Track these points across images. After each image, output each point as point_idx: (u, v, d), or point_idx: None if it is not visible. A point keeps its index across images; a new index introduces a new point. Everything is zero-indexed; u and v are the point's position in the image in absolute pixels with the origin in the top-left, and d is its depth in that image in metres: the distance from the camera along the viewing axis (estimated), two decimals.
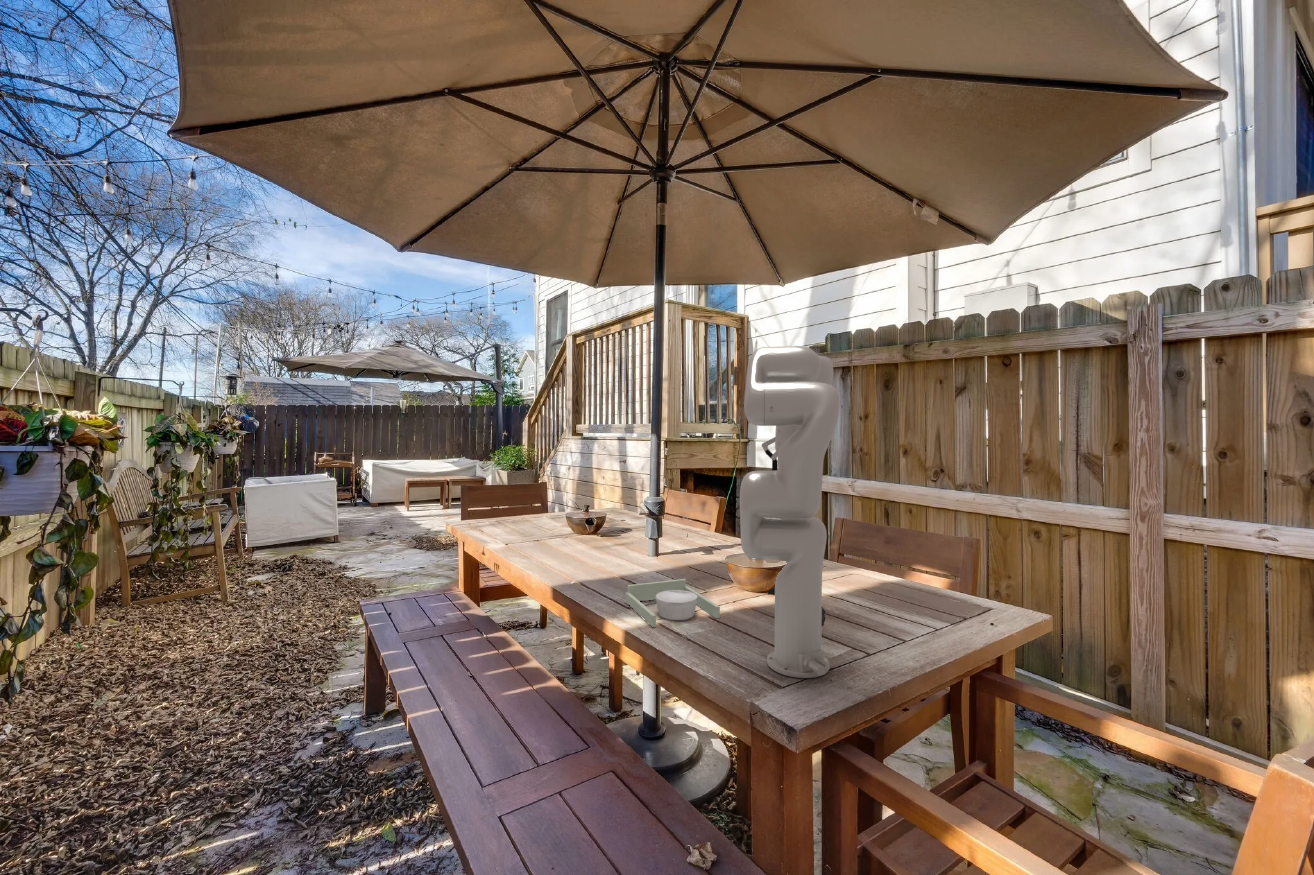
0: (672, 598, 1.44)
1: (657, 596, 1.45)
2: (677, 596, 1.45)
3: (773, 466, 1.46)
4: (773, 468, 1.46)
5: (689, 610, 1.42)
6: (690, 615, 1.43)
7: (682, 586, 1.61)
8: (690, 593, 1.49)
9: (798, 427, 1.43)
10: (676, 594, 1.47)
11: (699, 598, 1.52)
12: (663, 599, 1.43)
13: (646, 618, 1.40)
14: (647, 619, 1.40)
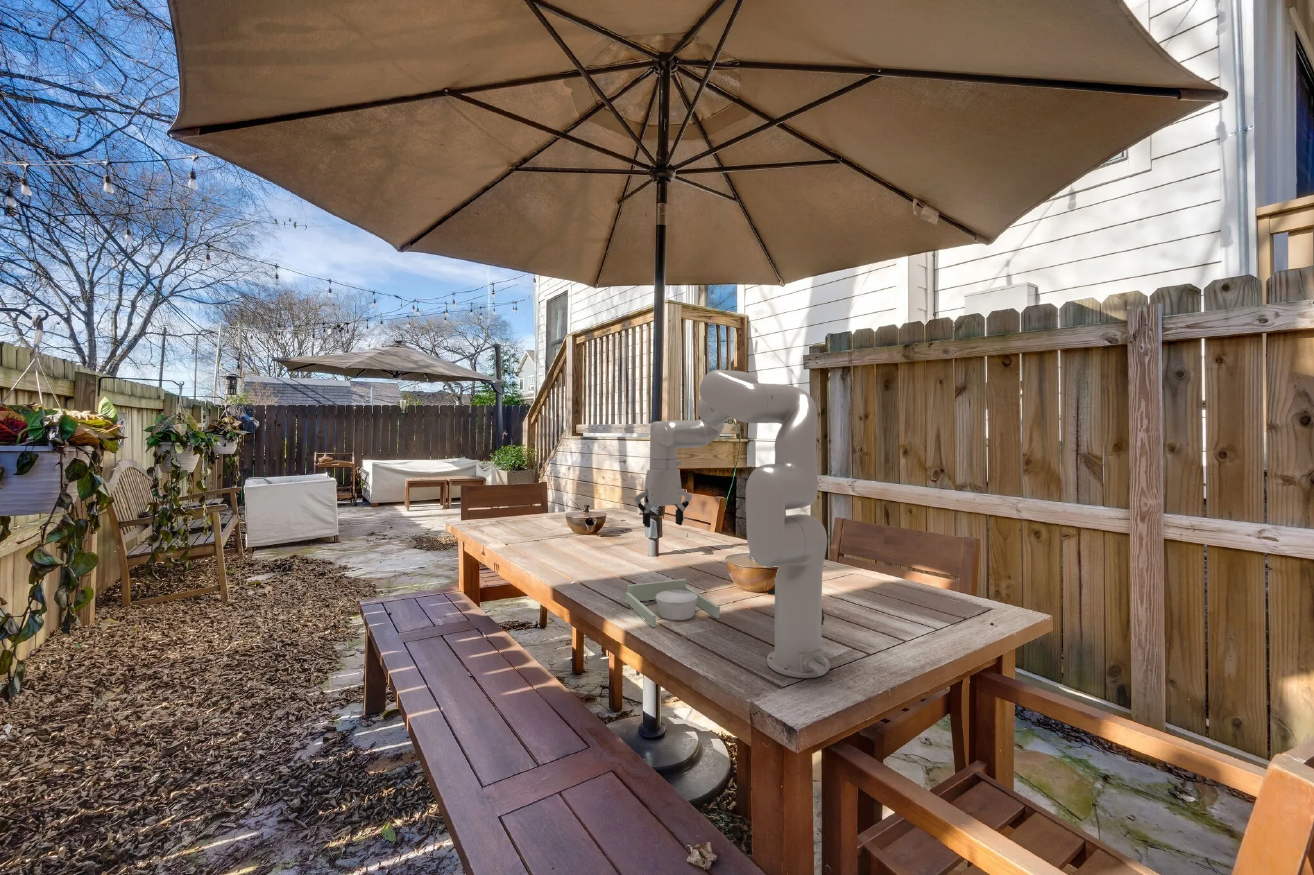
0: (672, 598, 1.44)
1: (657, 596, 1.45)
2: (677, 596, 1.45)
3: None
4: None
5: (689, 610, 1.42)
6: (690, 615, 1.43)
7: (682, 586, 1.61)
8: (690, 593, 1.49)
9: None
10: (676, 594, 1.47)
11: (699, 598, 1.52)
12: (663, 599, 1.43)
13: (646, 618, 1.40)
14: (647, 619, 1.40)
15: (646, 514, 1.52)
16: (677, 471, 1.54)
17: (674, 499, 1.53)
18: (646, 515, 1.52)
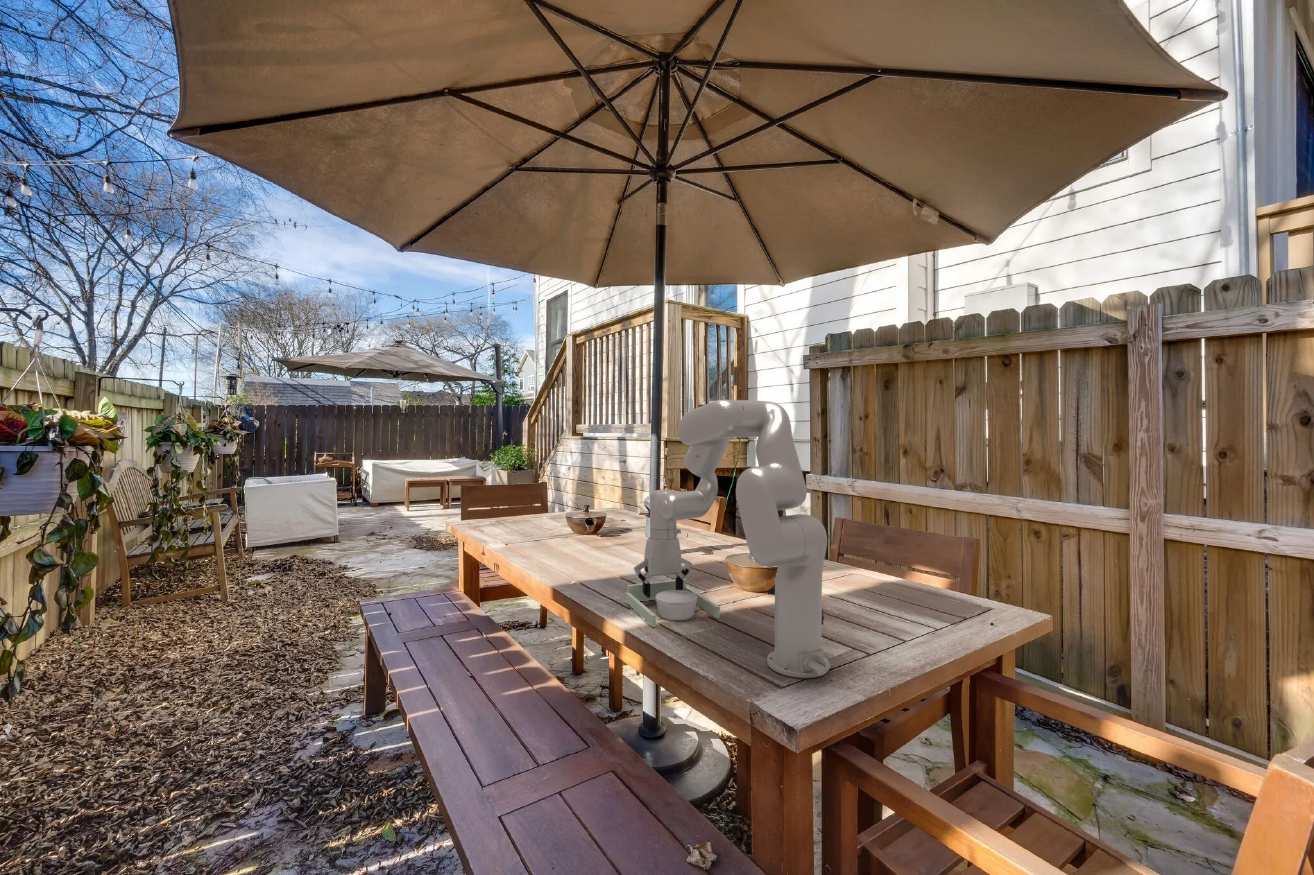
0: (672, 598, 1.44)
1: (657, 596, 1.45)
2: (677, 596, 1.45)
3: None
4: None
5: (689, 610, 1.42)
6: (690, 615, 1.43)
7: None
8: (690, 593, 1.49)
9: None
10: (676, 594, 1.47)
11: (699, 598, 1.52)
12: (663, 599, 1.43)
13: (646, 618, 1.40)
14: (647, 619, 1.40)
15: (646, 584, 1.52)
16: (677, 540, 1.54)
17: (674, 569, 1.53)
18: (646, 585, 1.52)
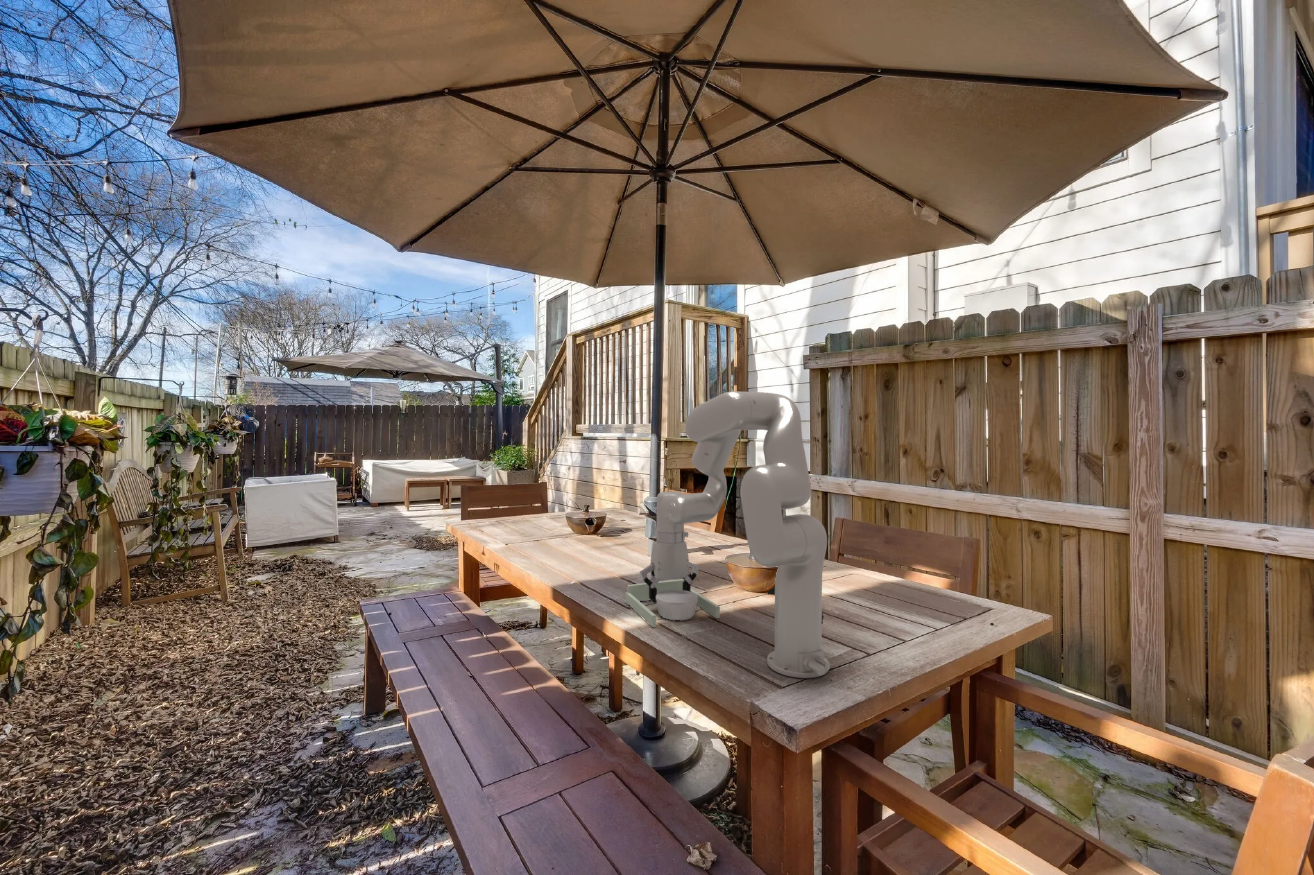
0: (672, 598, 1.44)
1: (657, 596, 1.45)
2: (677, 596, 1.45)
3: None
4: None
5: (689, 610, 1.42)
6: (690, 615, 1.42)
7: (682, 586, 1.61)
8: (690, 593, 1.49)
9: None
10: (676, 594, 1.47)
11: (699, 598, 1.52)
12: (663, 599, 1.42)
13: (646, 618, 1.40)
14: (647, 619, 1.40)
15: (652, 589, 1.47)
16: (684, 544, 1.49)
17: (681, 573, 1.49)
18: (652, 590, 1.47)
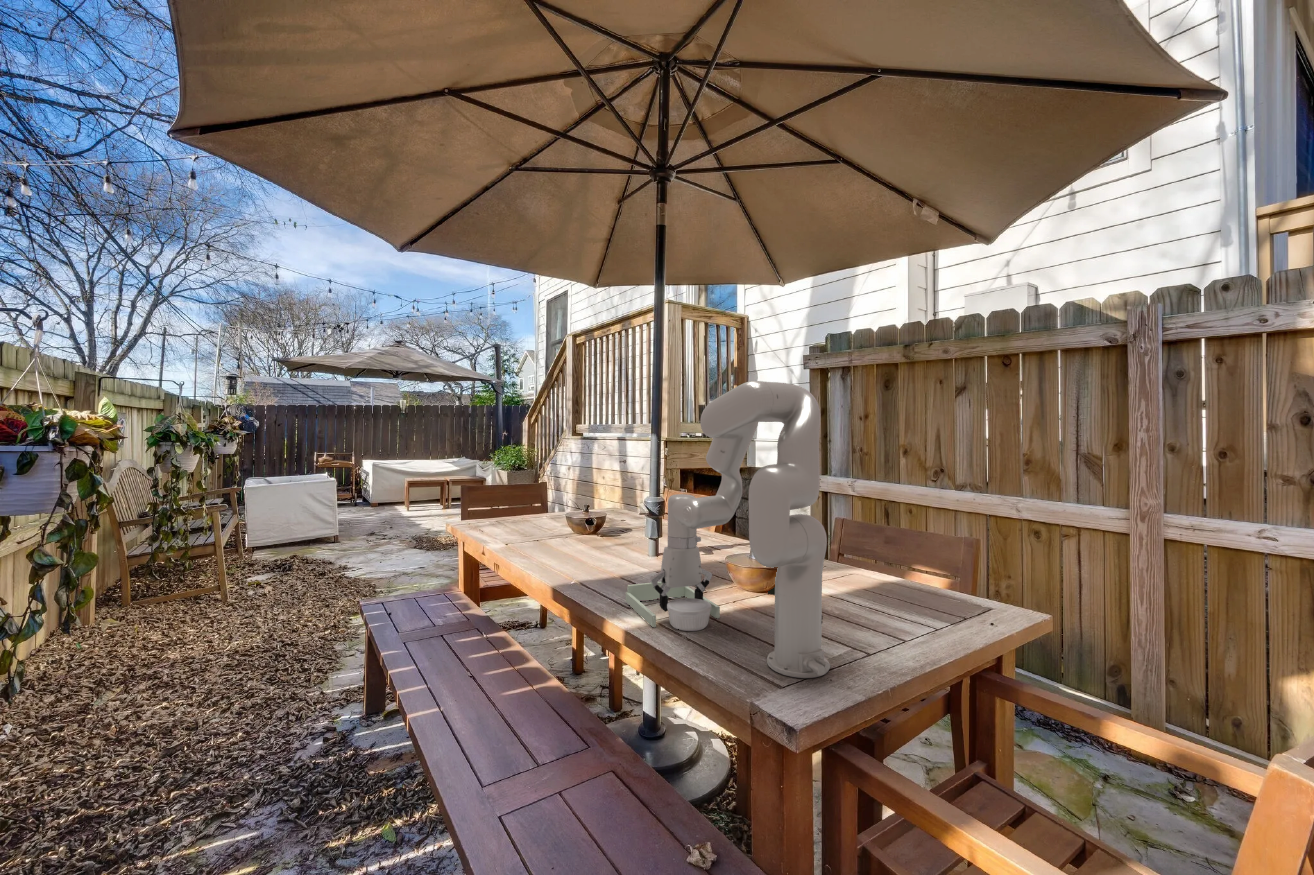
0: (685, 607, 1.36)
1: (669, 605, 1.38)
2: (689, 605, 1.38)
3: None
4: None
5: (703, 620, 1.34)
6: (704, 625, 1.35)
7: None
8: (703, 601, 1.41)
9: None
10: (688, 602, 1.39)
11: None
12: (675, 608, 1.35)
13: (646, 618, 1.40)
14: (647, 619, 1.40)
15: (663, 597, 1.40)
16: (697, 549, 1.42)
17: (694, 580, 1.42)
18: (663, 598, 1.40)
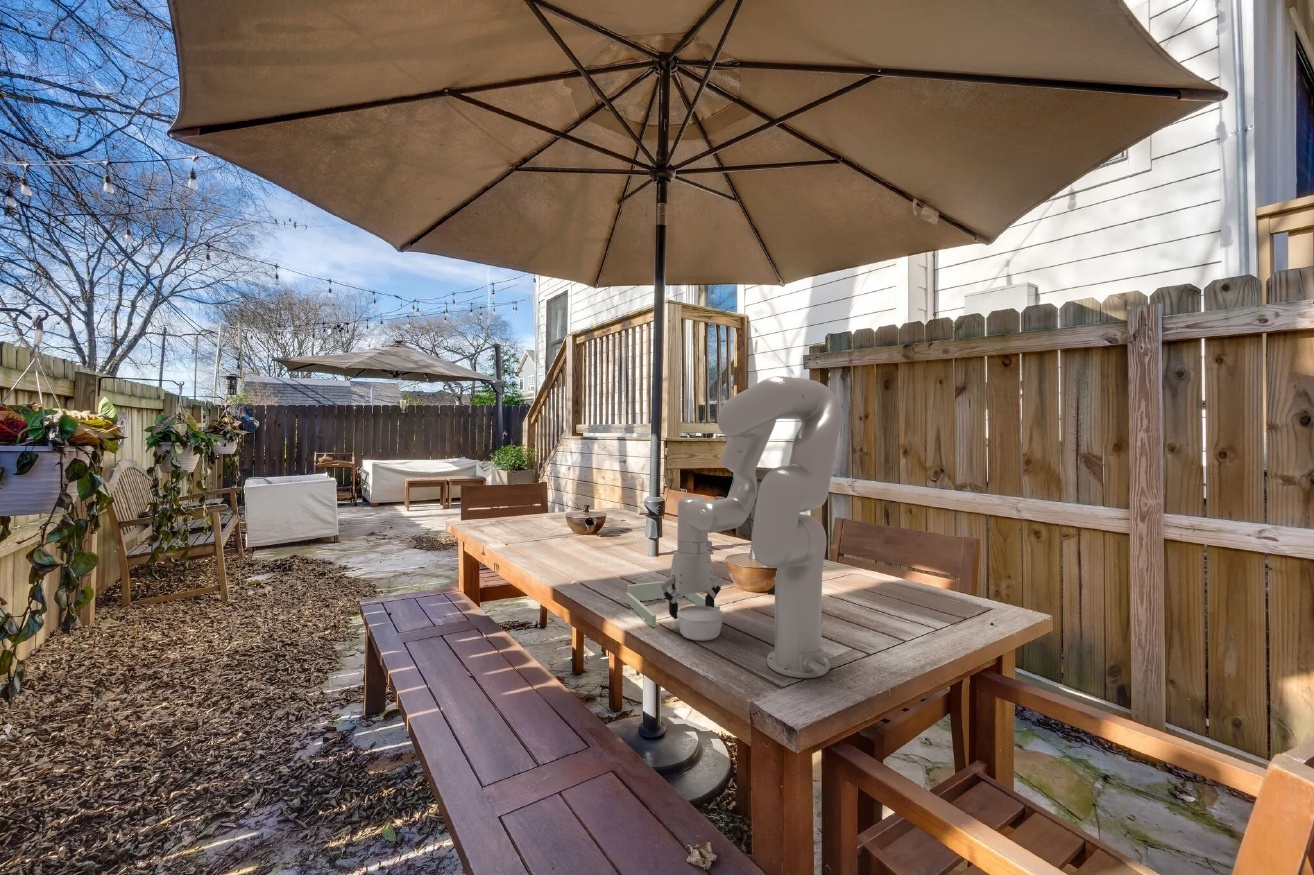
0: (696, 615, 1.30)
1: (679, 613, 1.31)
2: (701, 613, 1.32)
3: None
4: None
5: (715, 629, 1.28)
6: (716, 634, 1.29)
7: None
8: (714, 609, 1.35)
9: None
10: (699, 610, 1.33)
11: (699, 598, 1.52)
12: (686, 617, 1.29)
13: (646, 618, 1.40)
14: (647, 619, 1.40)
15: (673, 604, 1.34)
16: (708, 554, 1.36)
17: (705, 586, 1.36)
18: (673, 605, 1.34)
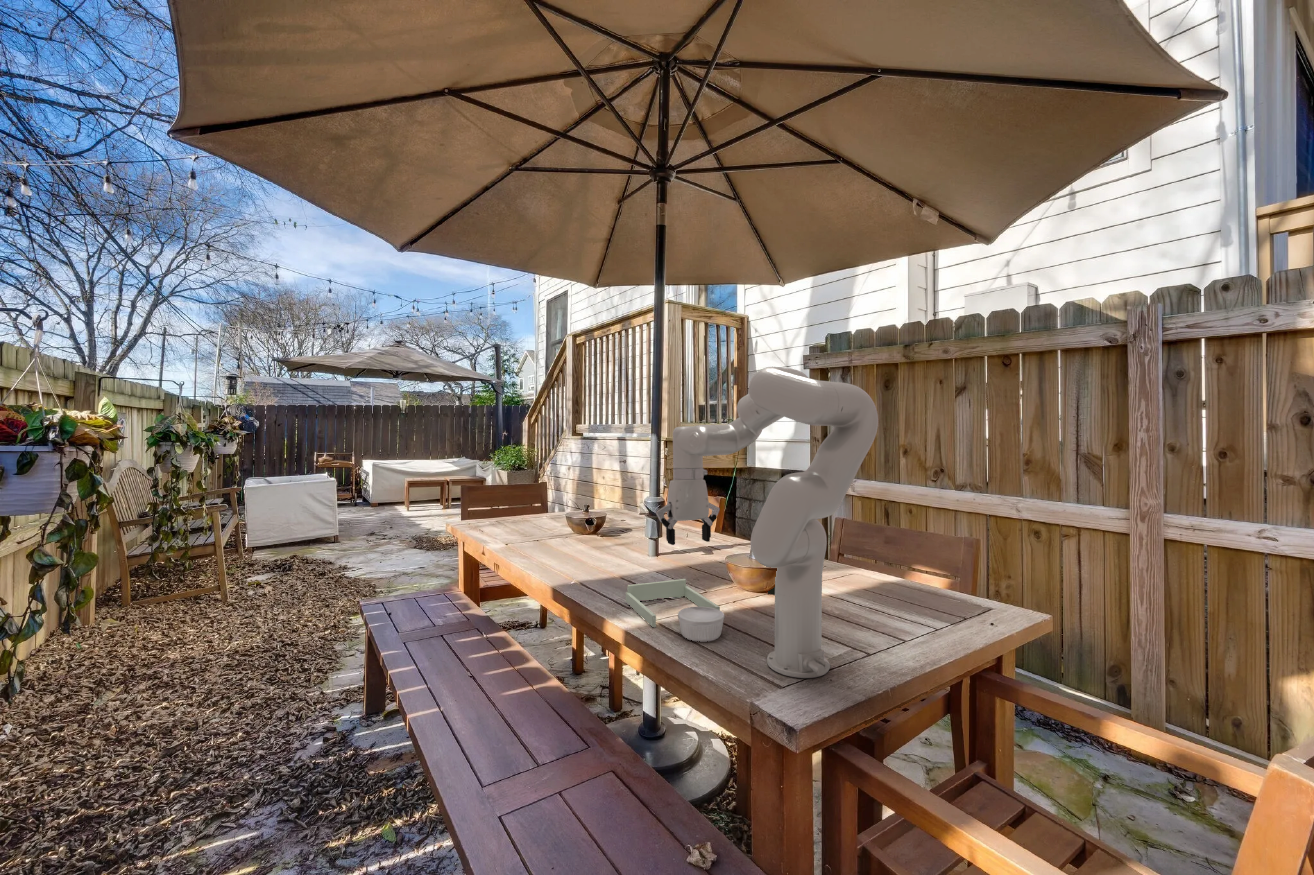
0: (697, 616, 1.30)
1: (680, 614, 1.31)
2: (701, 614, 1.31)
3: None
4: None
5: (716, 630, 1.28)
6: (717, 635, 1.29)
7: (682, 586, 1.61)
8: (715, 610, 1.35)
9: None
10: (700, 611, 1.33)
11: (699, 598, 1.52)
12: (687, 618, 1.29)
13: (646, 618, 1.40)
14: (647, 619, 1.40)
15: (670, 530, 1.36)
16: (703, 481, 1.38)
17: (701, 513, 1.38)
18: (670, 531, 1.36)
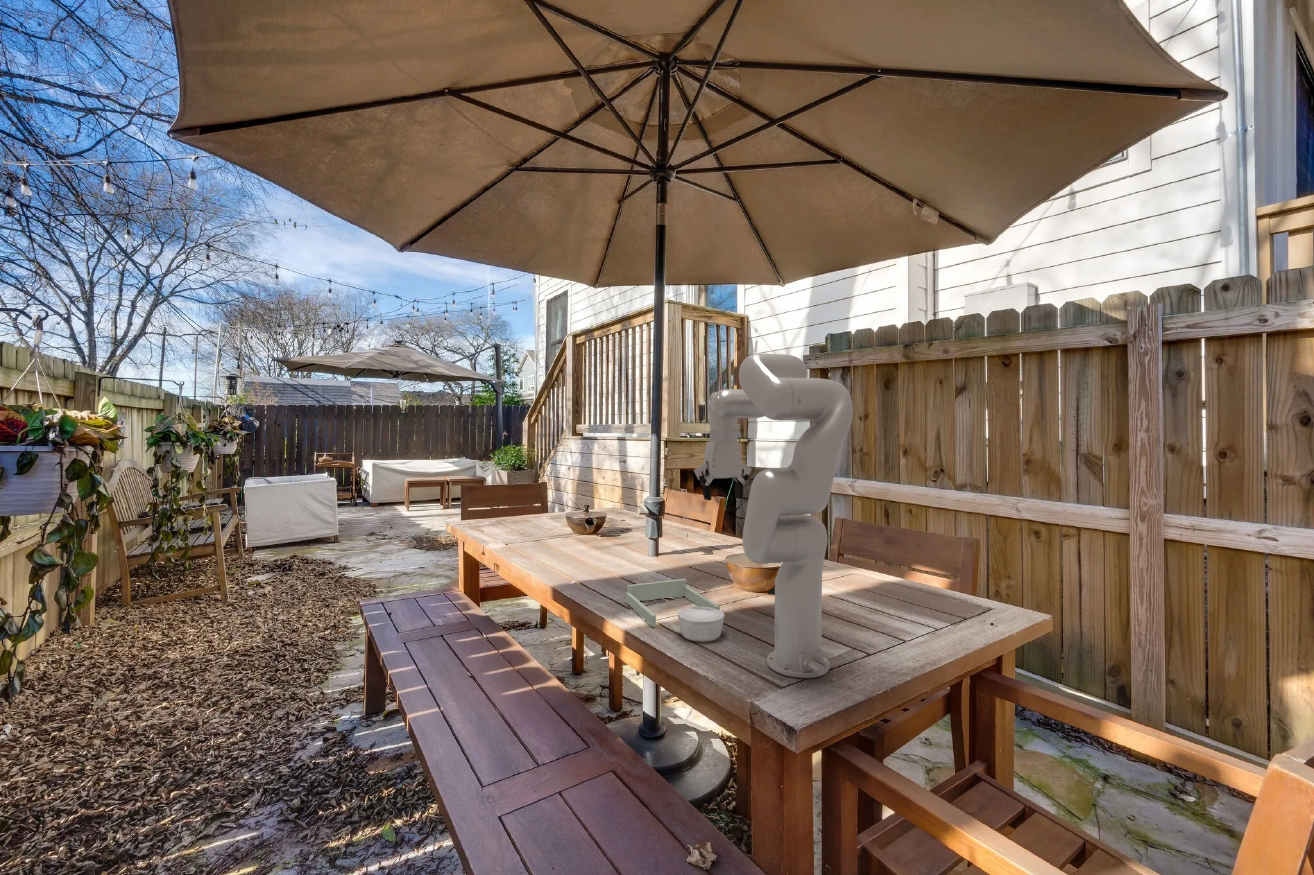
0: (697, 616, 1.30)
1: (680, 614, 1.31)
2: (702, 614, 1.31)
3: None
4: None
5: (716, 630, 1.28)
6: (717, 635, 1.29)
7: (682, 586, 1.61)
8: (715, 610, 1.35)
9: None
10: (700, 611, 1.33)
11: (699, 598, 1.52)
12: (687, 618, 1.29)
13: (646, 618, 1.40)
14: (647, 619, 1.40)
15: (707, 487, 1.48)
16: (738, 443, 1.50)
17: (735, 472, 1.49)
18: (707, 488, 1.48)
